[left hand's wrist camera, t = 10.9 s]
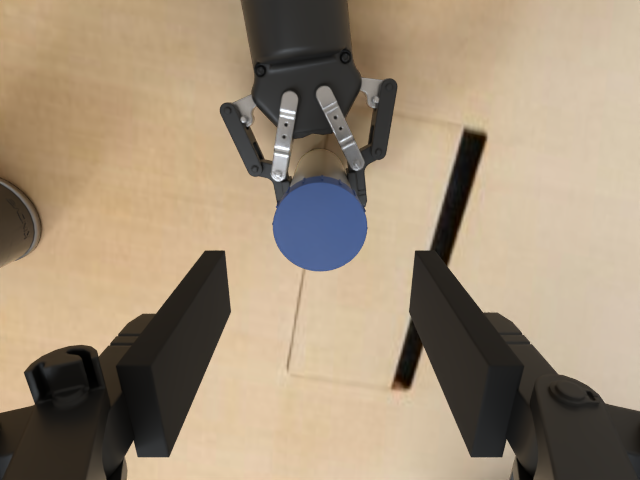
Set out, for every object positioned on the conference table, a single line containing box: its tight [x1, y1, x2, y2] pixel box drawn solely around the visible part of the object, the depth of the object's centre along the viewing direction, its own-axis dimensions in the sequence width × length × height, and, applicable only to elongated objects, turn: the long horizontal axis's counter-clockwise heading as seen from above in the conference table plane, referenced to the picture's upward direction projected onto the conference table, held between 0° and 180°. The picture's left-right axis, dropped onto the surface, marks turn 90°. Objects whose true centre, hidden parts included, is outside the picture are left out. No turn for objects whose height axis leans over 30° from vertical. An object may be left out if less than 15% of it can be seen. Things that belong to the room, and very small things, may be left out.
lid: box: [272, 175, 367, 271], centre depth 21 cm, size 5×5×2 cm
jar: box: [290, 149, 351, 188], centre depth 29 cm, size 5×5×17 cm
